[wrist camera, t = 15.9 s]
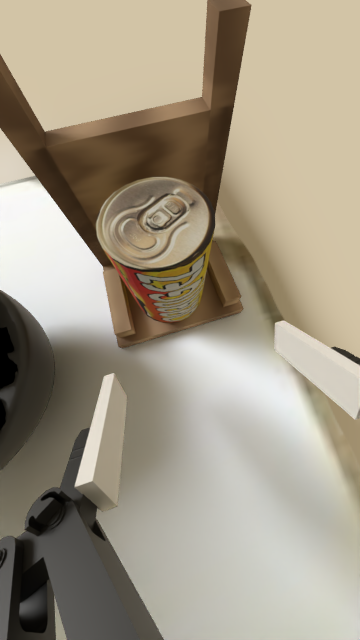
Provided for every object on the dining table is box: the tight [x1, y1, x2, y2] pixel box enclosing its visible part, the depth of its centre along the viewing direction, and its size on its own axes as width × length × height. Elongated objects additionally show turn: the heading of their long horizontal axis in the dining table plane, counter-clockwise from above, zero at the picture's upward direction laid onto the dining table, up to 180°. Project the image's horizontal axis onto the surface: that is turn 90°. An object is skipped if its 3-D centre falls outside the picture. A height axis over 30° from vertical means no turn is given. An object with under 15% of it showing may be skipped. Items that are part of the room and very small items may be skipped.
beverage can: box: [96, 177, 215, 323], centre depth 19 cm, size 9×9×12 cm
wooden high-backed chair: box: [0, 0, 251, 348], centre depth 18 cm, size 17×14×20 cm
